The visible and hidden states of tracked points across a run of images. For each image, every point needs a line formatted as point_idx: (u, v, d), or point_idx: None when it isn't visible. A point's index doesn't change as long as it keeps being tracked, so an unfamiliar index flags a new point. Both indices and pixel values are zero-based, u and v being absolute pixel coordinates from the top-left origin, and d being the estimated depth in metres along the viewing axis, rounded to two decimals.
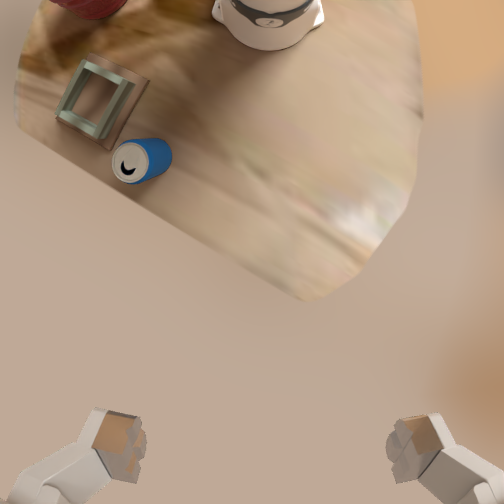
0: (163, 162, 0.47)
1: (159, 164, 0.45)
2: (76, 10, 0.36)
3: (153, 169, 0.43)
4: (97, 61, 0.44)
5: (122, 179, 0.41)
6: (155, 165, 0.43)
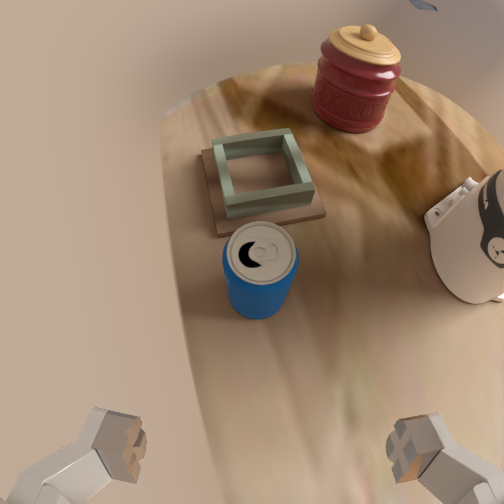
0: (277, 303, 0.31)
1: (277, 298, 0.29)
2: (325, 87, 0.43)
3: (275, 292, 0.27)
4: None
5: (230, 260, 0.26)
6: (280, 291, 0.27)
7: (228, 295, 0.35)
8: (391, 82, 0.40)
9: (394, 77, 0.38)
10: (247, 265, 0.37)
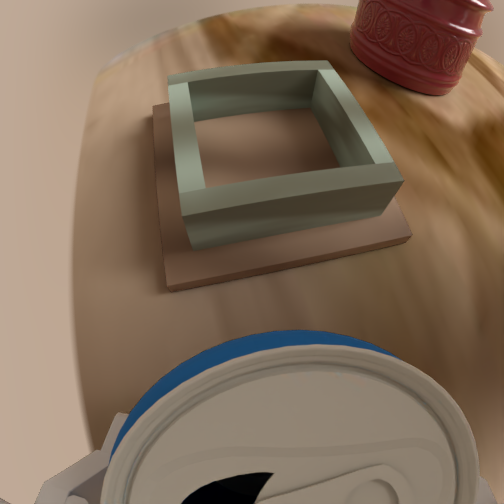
0: None
1: None
2: (381, 11, 0.20)
3: None
4: None
5: None
6: None
7: None
8: (483, 17, 0.17)
9: (490, 7, 0.15)
10: None
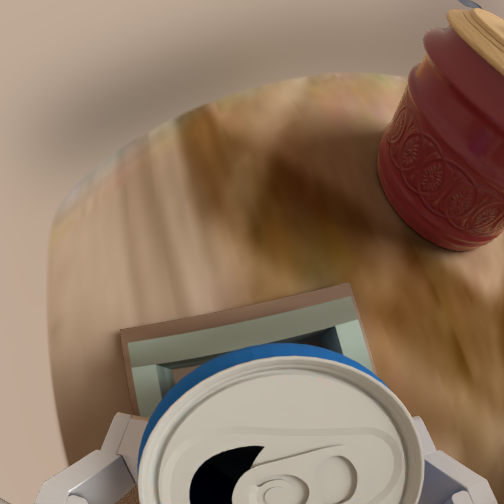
0: None
1: None
2: (434, 157, 0.16)
3: None
4: None
5: None
6: None
7: None
8: None
9: None
10: None
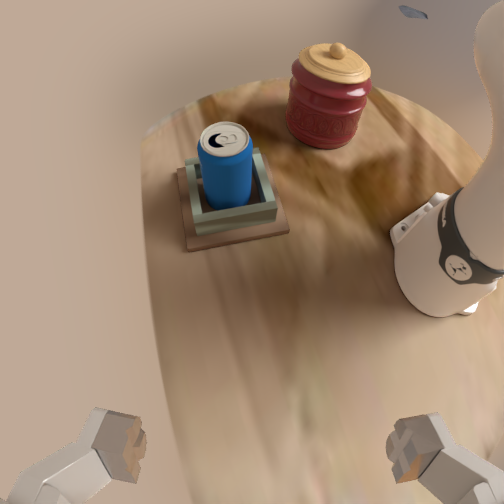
0: (239, 188, 0.40)
1: (238, 179, 0.38)
2: (296, 106, 0.47)
3: (233, 167, 0.35)
4: None
5: (201, 143, 0.35)
6: (238, 168, 0.36)
7: None
8: (360, 99, 0.43)
9: (362, 95, 0.41)
10: None
